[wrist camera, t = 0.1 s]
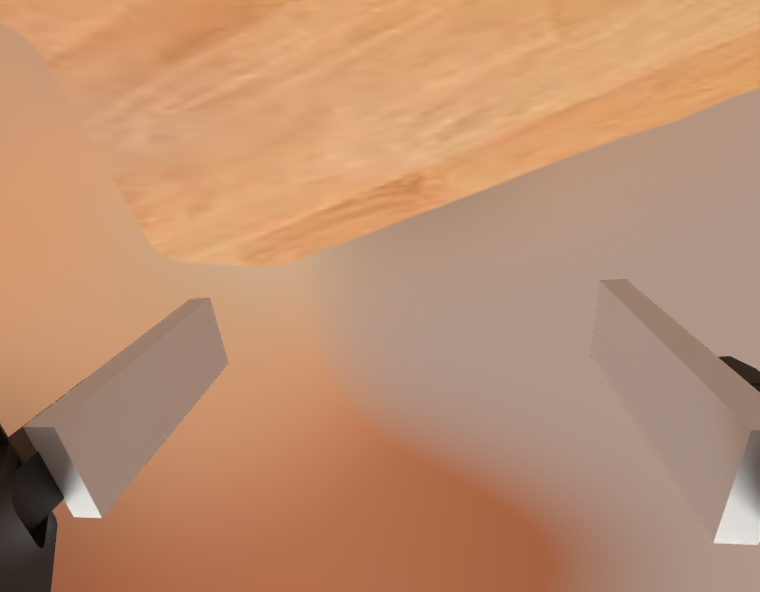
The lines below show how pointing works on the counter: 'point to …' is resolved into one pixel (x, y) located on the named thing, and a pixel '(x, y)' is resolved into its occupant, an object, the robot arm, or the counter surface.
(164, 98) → the counter surface
